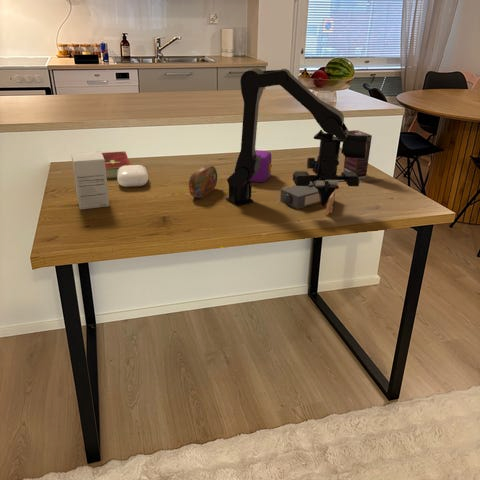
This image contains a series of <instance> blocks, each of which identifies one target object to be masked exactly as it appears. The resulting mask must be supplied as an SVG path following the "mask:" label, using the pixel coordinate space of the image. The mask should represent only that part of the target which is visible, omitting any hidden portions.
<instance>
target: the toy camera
mask: <svg viewBox="0 0 480 480" xmlns="http://www.w3.org/2000/svg"><path fill="white" fill-rule="evenodd" d="M255 151H256V155H261V158H260V162H259V163H260V168H259V169H258V170H257V172H256V173H255V175H254V176H253V177H252V178H251V179H250V180H249V181H250V182H255V183H265V182H266V181H267V180H268V178H269V177H270V176H271V173H272V171H271V170H272V168H273V167H272V166H273V165H272V152H270V151H266V150H260V149H259V150H258V149H255Z"/></svg>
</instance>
